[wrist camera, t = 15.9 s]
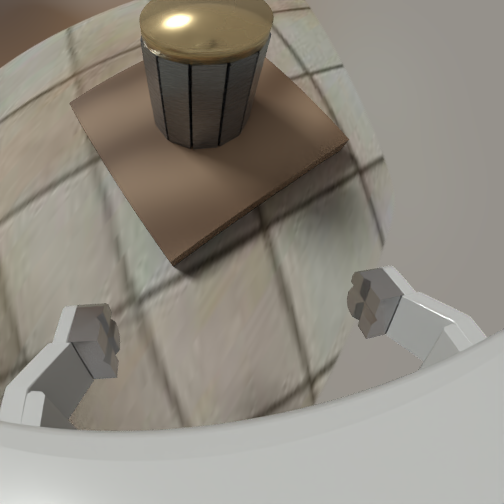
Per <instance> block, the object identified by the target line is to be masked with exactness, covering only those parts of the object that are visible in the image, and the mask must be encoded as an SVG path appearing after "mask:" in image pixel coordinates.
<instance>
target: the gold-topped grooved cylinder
mask: <svg viewBox="0 0 504 504" xmlns="http://www.w3.org/2000/svg"><path fill="white" fill-rule="evenodd" d="M272 23H273V12H272V10H271V8H270V7H269V5H268V4H267V3H266V2H265V1H264V0H151V1H150V2H149V3H148V4H147V5H146V6H145V7H144V9H143V10H142V12H141V15H140V28H141V47H142V53H143V60H144V66H145V72H146V77H147V83H148V89H149V94H150V99H151V105H152V110H153V115H154V120H155V124H156V126H157V127H158V129H159V130H160V131H161V133H162V134H163V135H164V136H165V138H166V139H167V140H169V142H172V143H175V144H178V145H180V146H183V147H186V148H189V149H191V148H192V146H193V150H194V149H205V148H217V145H219V146H222V145H224V144H225V143H227V142H229V141H231V140H232V139H234V138H236V137H238V136H239V134H241V132H242V130H243V129H244V127H245V125H246V123H247V121H248V119H249V117H250V113H251V109H252V105H253V101H254V97H255V93H256V89H257V86H258V82H259V78H260V74H261V70H262V67H263V63H264V59H265V56H266V52H267V48H268V45H269V41H270V38H271V33H270V30H271V27H272Z"/></svg>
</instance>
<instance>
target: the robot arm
mask: <svg viewBox="0 0 504 504" xmlns="http://www.w3.org/2000/svg"><path fill="white" fill-rule="evenodd" d="M351 282H352V284H353V285H354V286H353V287H352V288H351V289H350V290H349V292H348V296H347V305H348V309H349V312H350V313H351V315H352V317H354V318H356V319H358V320H359V323H358V327H359V328H360V330H361V331H362V333H363V334H364V336H365V338H366V339H367V338H372V337H376V336H380V335H384V334H386V336H388V337H390V338H391V339H392V340H394V341H395V342H397V343H398V344H400V345H401V346H402V347H404V348H405V349H407V350H408V351H409V352H411V353H412V354H414V355H415V356H417V357H418V358H419V359H421V360H422V361H424V362H423V364H422V365H421V367H420V368H419V370H418V371H416V372H413V373H411V374H409V375H406V376H403V377H401V378H398V379H396V380H393V381H390V382H387V383H385V384H382V385H379V386H376V387H373V388H370V389H367V390H364V391H361V392H358V393H355V394H351V395H348V396H345V397H341V398H338V399H335V400H331V401H327V402H324V403H320V404H316V405H312V406H308V407H304V408H300V409H296V410H292V411H287V412H283V413H278V414H273V415H268V416H263V417H258V418H253V419H247V420H241V421H235V422H228V423H221V424H214V425H206V426H197V427H187V428H175V429H161V430H138V431H94V430H78V429H77V428H76V427H75V426H74V425H73V424H72V423H71V422H70V421H69V420H68V419H69V418H70V416H71V414H72V413H73V411H74V410H75V408H76V407H77V405H78V404H79V402H80V401H81V399H82V397H83V396H84V394H85V393H86V391H87V390H88V388H89V387H90V385H91V384H92V382H93V381H94V380H93V379H103V378H117V373H118V362H119V361H118V359H117V357H116V354H117V353H118V351H119V350H120V334H119V330H118V327H117V324H116V322H115V321H113V320H112V319H111V315H112V311H111V309H110V307H109V305H108V304H106V303H104V304H87V305H75V306H66V307H64V308H63V311H62V314H61V317H60V320H59V323H58V326H57V329H56V333H55V336H54V339H53V343H49V344H48V345H46V346H45V347H44V348H43V349H42V350H41V351H40V352H39V354H38V355H37V356H36V357H35V358H34V359H33V360H32V361H31V362H30V363H29V364H28V365H27V366H26V367H25V368H24V369H23V370H22V371H21V372H20V373H19V374H18V375H17V376H16V377H15V378H14V379H13V380H12V382H11V383H10V384H9V385H8V386H7V387H6V389H5V393H4V397H3V401H2V405H1V409H0V504H504V329H502V330H500V331H499V332H497V333H495V334H493V335H491V336H489V337H488V338H487V336H486V335H485V334H484V333H483V331H482V330H481V329H480V328H479V327H478V325H477V324H476V323H475V322H474V321H473V319H472V318H471V317H470V316H469V315H467V314H465V313H462V312H461V311H459V310H456V309H454V308H452V307H450V306H448V305H446V304H444V303H442V302H440V301H438V300H436V299H434V298H432V297H430V296H427V295H425V294H423V293H421V292H416V291H415V290H414V289H413V288H412V287H411V286H410V285H409V283H408V282H407V281H406V280H405V279H404V278H403V276H402V275H401V274H400V273H399V272H398V271H397V270H396V269H395V268H394V267H393V266H391V265H390V266H385V267H379V268H375V269H370V270H364V271H358V272H355V273H354V274H353V276H352V280H351Z"/></svg>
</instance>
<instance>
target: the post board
mask: <svg viewBox="0 0 504 504" xmlns="http://www.w3.org/2000/svg"><path fill="white" fill-rule="evenodd" d="M70 105H71V107H72V109H73V111H74V113H75V115H76V117H77V118H78V120H79V122H80V124H81V125H82V127H83V129H84V131H85V132H86V134H87V136H88V137H89V139H90V141H91V142H92V144H93V146H94V147H95V149H96V151H97V152H98V154H99V156H100V157H101V159H102V161H103V162H104V164H105V166H106V167H107V169H108V170H109V172H110V174H111V175H112V177H113V178H114V180H115V182H116V183H117V185H118V186H119V188H120V189H121V191H122V192H123V194H124V196H125V197H126V199H127V200H128V202H129V203H130V205H131V206H132V208H133V209H134V211H135V212H136V214H137V215H138V217H139V218H140V220H141V221H142V223H143V224H144V226H145V227H146V229H147V230H148V231H149V233H150V234H151V236H152V237H153V239H154V240H155V242H156V243H157V244H158V246H159V247H160V249H161V250H162V252H163V253H164V254H165V256H166V257H167V259H168V260H169V261H170V263H171V264H172V266H175V265H176V264H177V263H179V262H180V261H181V260H183V259H184V258H186V257H187V256H188V255H190V254H191V253H192V252H194V251H195V250H196V249H198V248H199V247H201V246H202V245H203V244H205V243H206V242H208V241H209V240H210V239H212V238H213V237H214V236H216V235H217V234H219V233H220V232H221V231H223V230H224V229H226V228H227V227H228V226H230V225H231V224H233V223H234V222H236V221H237V220H238V219H240V218H241V217H243V216H244V215H245V214H247V213H248V212H250V211H251V210H253V209H254V208H255V207H257V206H258V205H260V204H261V203H263V202H264V201H266V200H267V199H268V198H270V197H271V196H273V195H274V194H276V193H277V192H279V191H280V190H282V189H283V188H284V187H286V186H287V185H289V184H290V183H292V182H293V181H295V180H296V179H298V178H299V177H301V176H302V175H304V174H305V173H307V172H308V171H310V170H311V169H313V168H314V167H316V166H317V165H319V164H320V163H322V162H323V161H325V160H326V159H328V158H329V157H331V156H332V155H334V154H335V153H337V152H338V151H340V150H341V149H342V148H343V146H344V145H345V144H346V143H347V141H348V140H349V139H348V138H347V137H346V136H345V135H344V133H343V132H342V131H341V130H340V129H339V128H338V127H337V126H336V125H335V124H334V123H333V121H332V120H331V119H330V118H329V117H328V116H327V115H326V114H325V113H324V112H323V111H322V110H321V109H320V108H319V107H318V106H317V105H316V104H315V103H314V102H313V101H312V100H311V99H310V98H309V97H308V96H307V95H306V94H305V93H304V92H303V91H302V90H301V89H300V88H299V87H298V86H297V85H296V84H295V83H294V82H293V81H291V80H290V79H289V78H288V77H287V76H286V75H285V74H284V73H283V72H282V71H281V70H280V69H278V68H277V67H276V66H275V65H274V64H273V63H272V62H270V61H269V60H268V59H267V58H266V57H265V59H264V63H263V67H262V70H261V74H260V78H259V82H258V86H257V89H256V93H255V97H254V101H253V105H252V109H251V113H250V117H249V119H248V121H247V123H246V125H245V127H244V129H243V130H242V132H241V134H239V136H238V137H236V138H234V139H232V140H231V141H229V142H227V143H225V144H224V145H222V146H219V145H217V148H205V149H194V150H193V146H192V148H191V149H189V148H186V147H183V146H180V145H178V144H175V143H172V142H169V140H167V139H166V138H165V136H164V135H163V134H162V133H161V131H160V130H159V129H158V127H157V126H156V124H155V120H154V115H153V110H152V105H151V99H150V94H149V89H148V83H147V77H146V72H145V66H144V60H143V61H141V62H139V63H137V64H135V65H133V66H131V67H129V68H128V69H126V70H124V71H122V72H120V73H118V74H116V75H114V76H113V77H111V78H109V79H107V80H106V81H104V82H102V83H100V84H99V85H97V86H95V87H94V88H92V89H90V90H89V91H87V92H86V93H84V94H82V95H81V96H79V97H78V98H76V99H75V100H73V101H72V102H70Z"/></svg>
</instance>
